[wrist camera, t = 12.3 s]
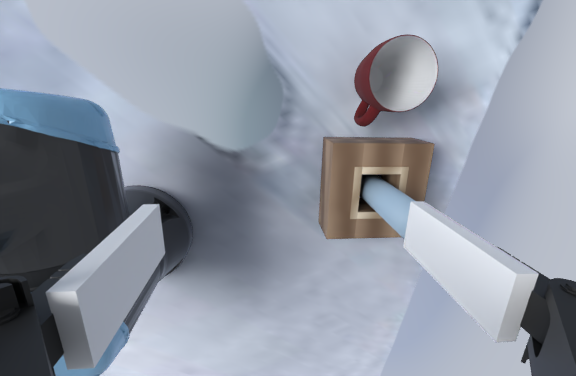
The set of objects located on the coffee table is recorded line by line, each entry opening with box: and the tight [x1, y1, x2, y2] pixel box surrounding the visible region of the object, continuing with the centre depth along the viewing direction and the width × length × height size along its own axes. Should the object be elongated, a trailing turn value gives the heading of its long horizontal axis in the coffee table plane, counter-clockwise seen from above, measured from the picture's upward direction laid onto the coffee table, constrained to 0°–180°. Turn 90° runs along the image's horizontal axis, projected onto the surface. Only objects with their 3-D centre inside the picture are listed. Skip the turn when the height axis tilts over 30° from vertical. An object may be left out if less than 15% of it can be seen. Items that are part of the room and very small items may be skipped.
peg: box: [360, 174, 415, 239], centre depth 38 cm, size 4×4×16 cm
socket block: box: [319, 137, 434, 239], centre depth 42 cm, size 14×14×6 cm
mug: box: [354, 35, 438, 126], centre depth 36 cm, size 11×8×10 cm
